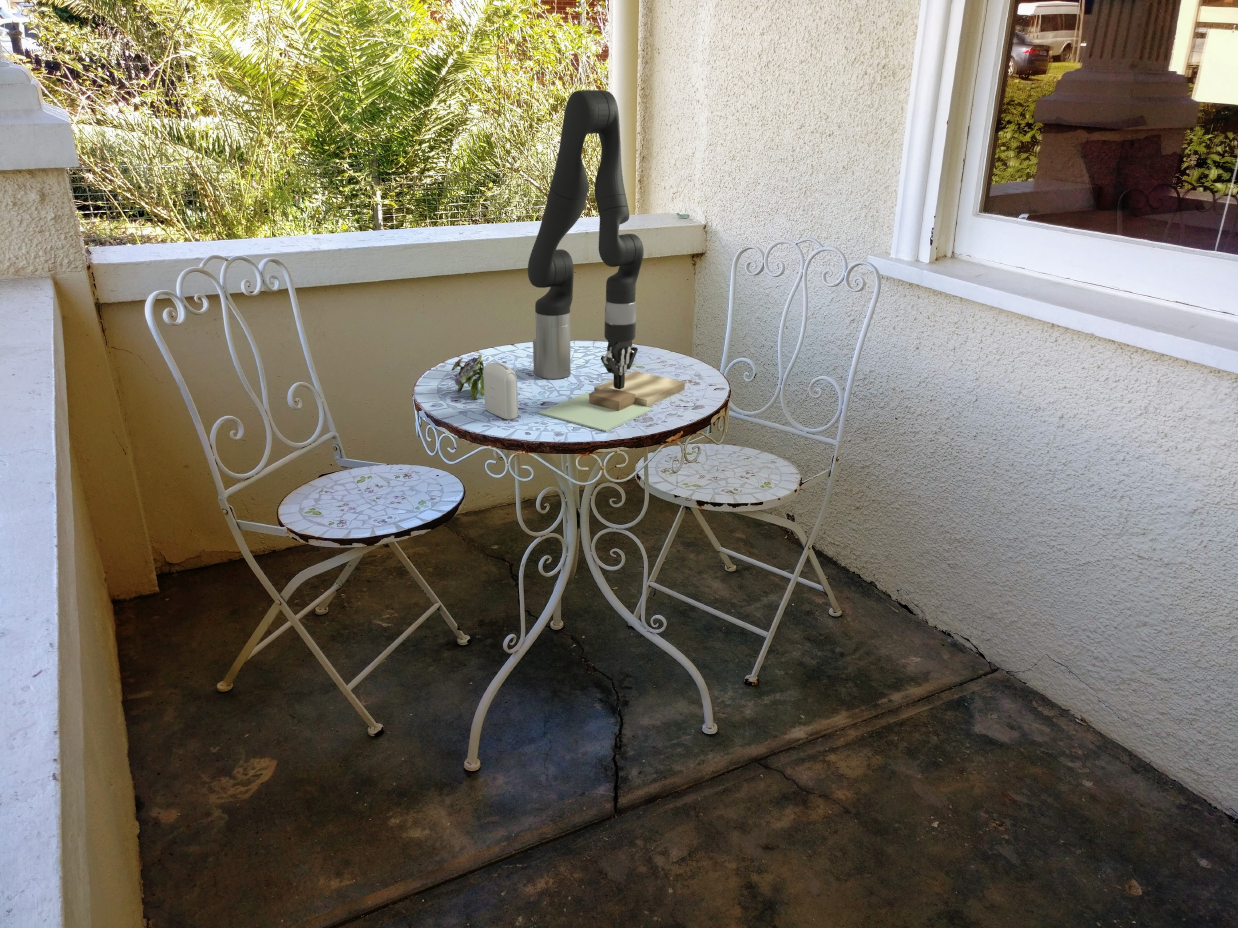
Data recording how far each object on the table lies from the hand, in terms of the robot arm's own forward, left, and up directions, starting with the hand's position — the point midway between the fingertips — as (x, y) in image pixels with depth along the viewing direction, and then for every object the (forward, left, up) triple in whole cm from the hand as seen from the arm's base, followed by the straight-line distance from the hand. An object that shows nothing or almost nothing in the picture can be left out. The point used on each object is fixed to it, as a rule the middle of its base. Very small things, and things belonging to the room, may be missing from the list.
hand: (618, 388), depth 219 cm
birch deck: (0, +9, -4) cm, 10 cm away
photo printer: (-17, -25, -4) cm, 30 cm away
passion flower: (-33, -17, -4) cm, 37 cm away
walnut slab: (0, -3, -3) cm, 4 cm away
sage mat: (0, -10, -4) cm, 10 cm away
